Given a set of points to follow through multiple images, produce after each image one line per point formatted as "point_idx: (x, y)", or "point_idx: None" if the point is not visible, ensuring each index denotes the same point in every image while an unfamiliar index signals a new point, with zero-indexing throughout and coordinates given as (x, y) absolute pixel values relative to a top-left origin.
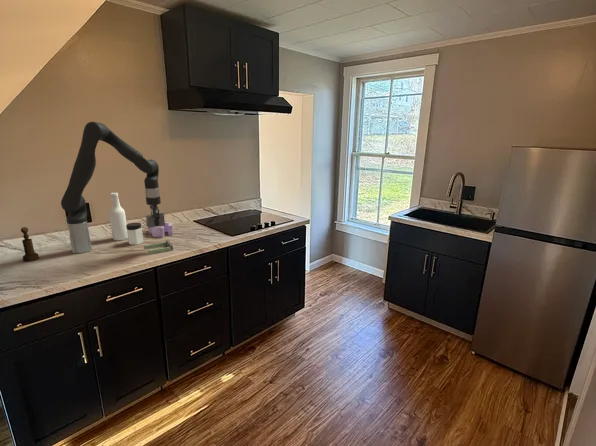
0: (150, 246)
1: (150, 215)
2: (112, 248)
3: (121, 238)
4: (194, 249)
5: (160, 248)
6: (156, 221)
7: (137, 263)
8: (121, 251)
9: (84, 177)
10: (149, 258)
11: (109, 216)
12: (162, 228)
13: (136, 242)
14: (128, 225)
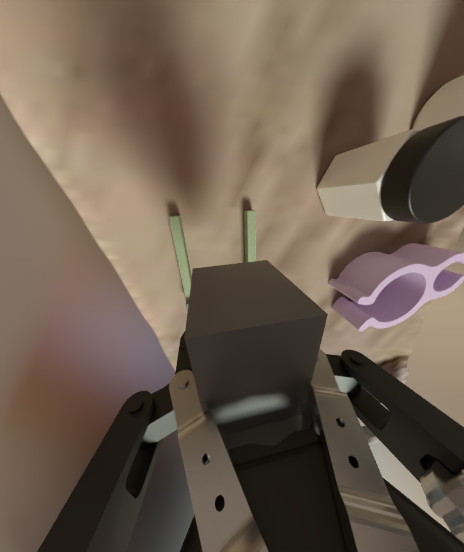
0: (246, 235)
1: (297, 365)
2: (337, 55)
3: (422, 122)
4: (168, 350)
5: (186, 268)
6: (178, 366)
7: (61, 156)
8: (267, 100)
9: None
10: (120, 216)
11: None
12: (355, 299)
13: (323, 185)
14: (458, 129)
